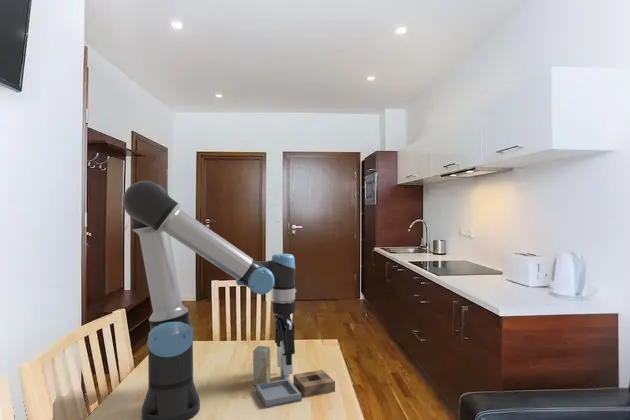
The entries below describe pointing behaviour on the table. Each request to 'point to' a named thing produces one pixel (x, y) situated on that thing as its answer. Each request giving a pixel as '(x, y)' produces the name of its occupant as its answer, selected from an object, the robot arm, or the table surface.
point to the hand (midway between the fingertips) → (284, 369)
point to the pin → (282, 361)
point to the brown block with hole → (313, 383)
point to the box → (261, 365)
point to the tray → (278, 393)
